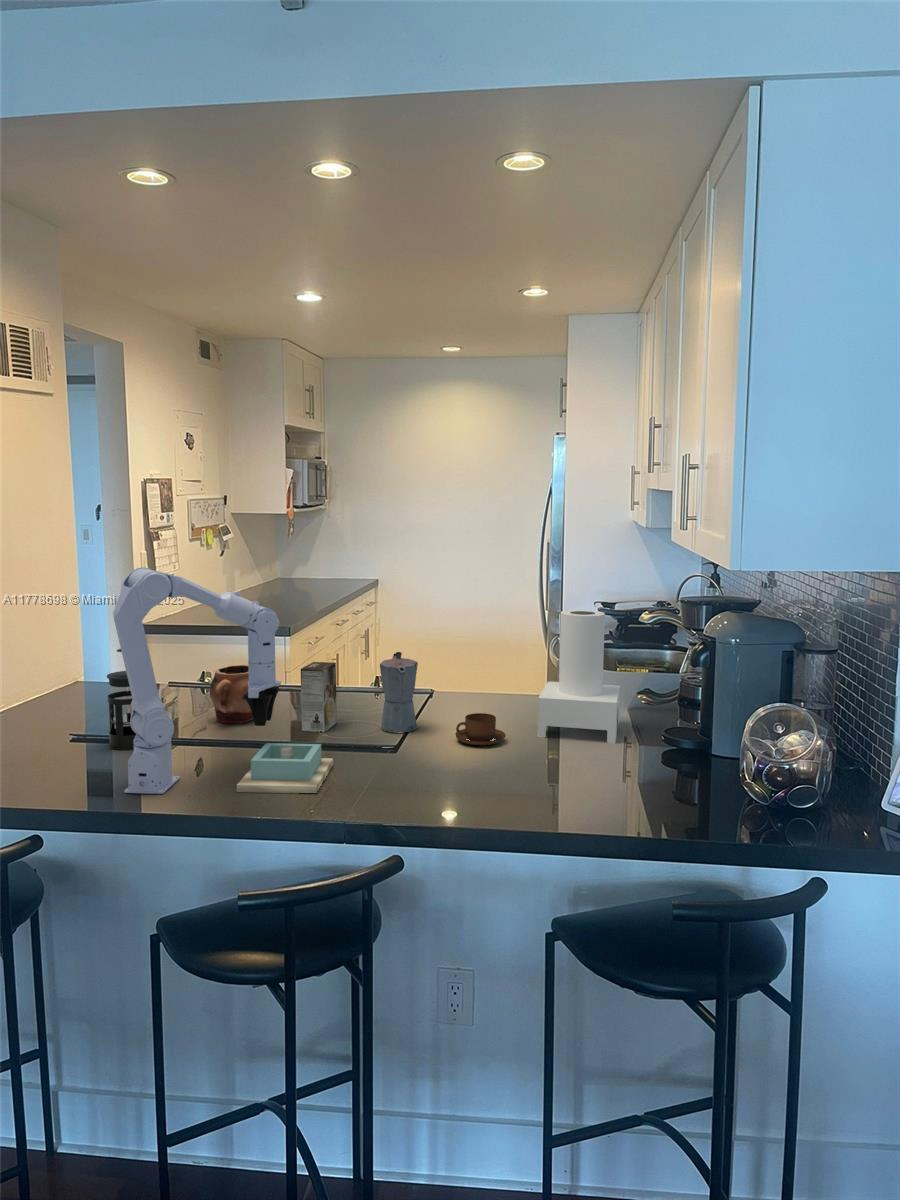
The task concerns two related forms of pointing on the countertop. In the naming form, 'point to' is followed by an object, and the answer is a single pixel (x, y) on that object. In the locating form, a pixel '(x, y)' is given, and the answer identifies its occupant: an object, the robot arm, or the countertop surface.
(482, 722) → the cup and saucer
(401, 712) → the moka pot
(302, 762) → the square loop
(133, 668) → the robot arm
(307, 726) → the coffee box
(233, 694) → the decorative planter
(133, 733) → the french press
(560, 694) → the paper towel holder
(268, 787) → the post board
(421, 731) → the countertop surface
